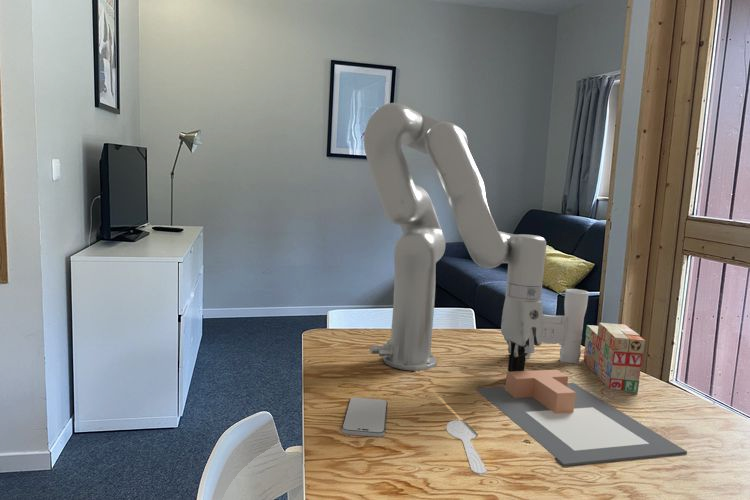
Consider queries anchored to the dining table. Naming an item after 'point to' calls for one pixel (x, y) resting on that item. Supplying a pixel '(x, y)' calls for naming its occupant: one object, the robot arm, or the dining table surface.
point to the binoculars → (567, 326)
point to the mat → (582, 429)
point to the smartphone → (365, 417)
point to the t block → (542, 388)
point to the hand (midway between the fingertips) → (515, 372)
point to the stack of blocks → (615, 355)
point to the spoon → (467, 443)
